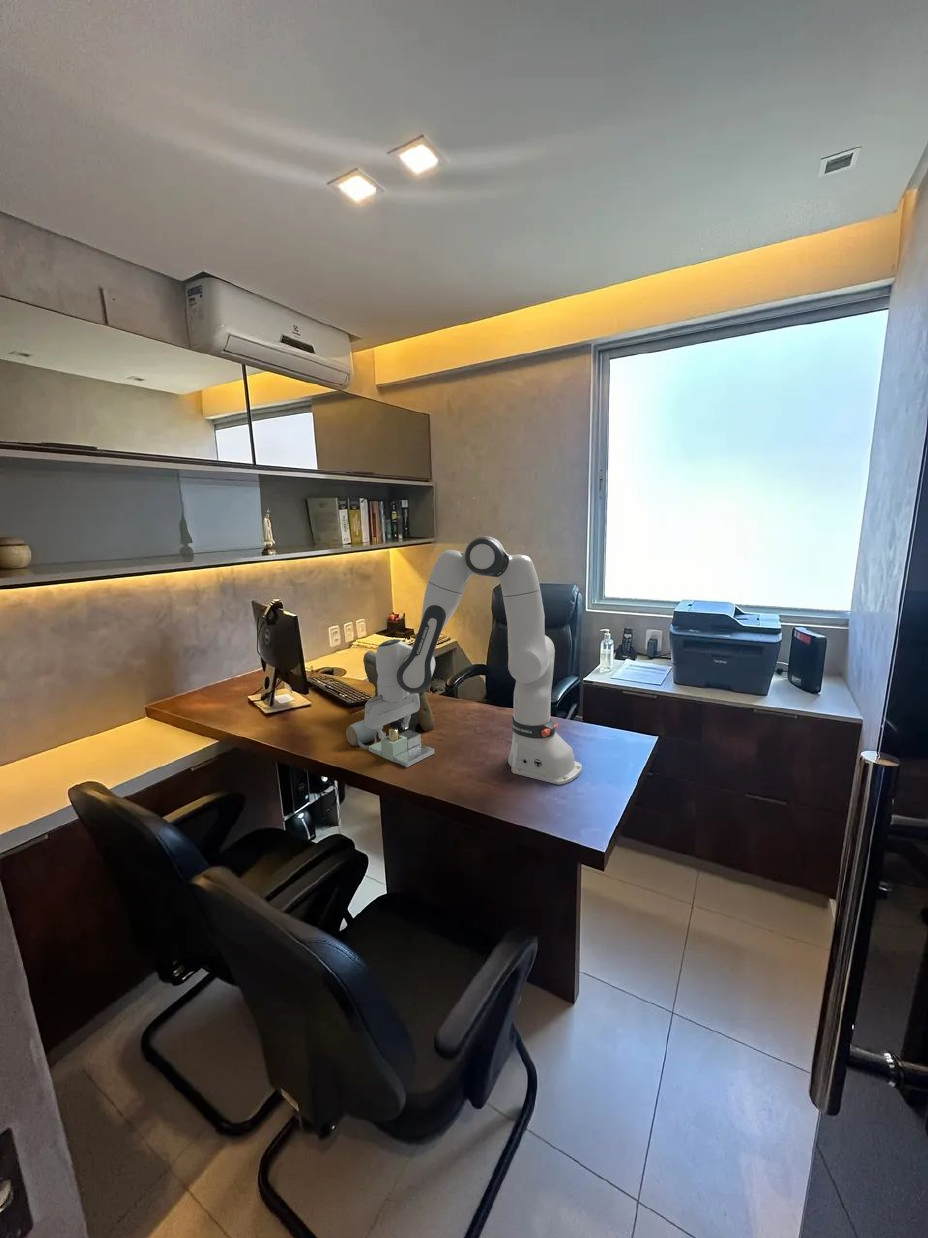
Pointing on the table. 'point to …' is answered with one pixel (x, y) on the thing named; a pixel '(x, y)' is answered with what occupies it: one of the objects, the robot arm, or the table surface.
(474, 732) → the table surface
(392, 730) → the hinge pin
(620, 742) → the table surface
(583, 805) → the table surface
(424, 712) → the tablet
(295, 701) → the table surface
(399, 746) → the green square socket base
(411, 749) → the sliding leaf
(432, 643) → the robot arm
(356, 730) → the ceramic mug
